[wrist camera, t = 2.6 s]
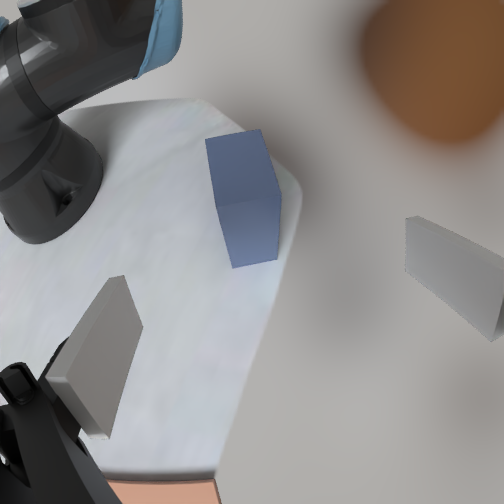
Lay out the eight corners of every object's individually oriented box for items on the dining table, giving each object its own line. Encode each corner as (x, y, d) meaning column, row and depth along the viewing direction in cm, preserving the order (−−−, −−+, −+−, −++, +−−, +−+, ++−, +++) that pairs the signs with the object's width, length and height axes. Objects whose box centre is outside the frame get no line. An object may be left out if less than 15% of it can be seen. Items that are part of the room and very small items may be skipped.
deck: (221, 212, 30) (204, 139, 21) (262, 203, 30) (260, 129, 21) (232, 268, 27) (215, 207, 18) (277, 259, 27) (282, 194, 18)
